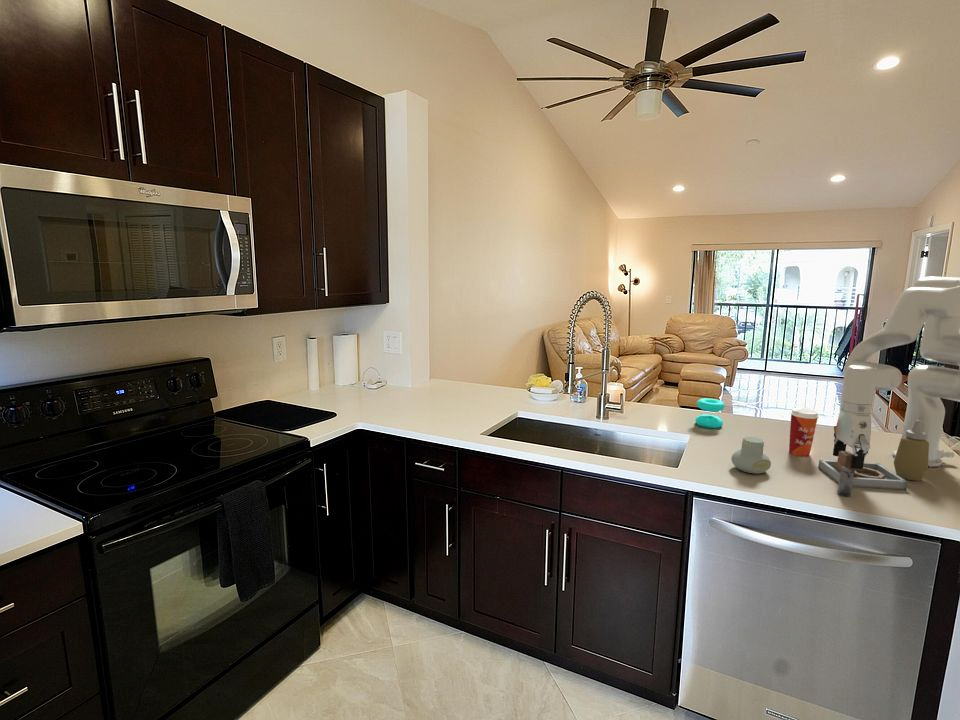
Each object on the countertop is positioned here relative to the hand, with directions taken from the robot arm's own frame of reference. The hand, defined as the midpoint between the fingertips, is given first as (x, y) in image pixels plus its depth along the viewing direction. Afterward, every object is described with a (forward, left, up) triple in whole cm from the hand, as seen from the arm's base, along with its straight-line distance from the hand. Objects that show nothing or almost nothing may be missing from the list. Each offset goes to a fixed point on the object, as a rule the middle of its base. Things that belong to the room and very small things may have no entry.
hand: (847, 462), depth 156 cm
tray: (-4, 0, -5) cm, 6 cm away
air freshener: (+27, -1, -5) cm, 27 cm away
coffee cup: (+5, -19, -5) cm, 20 cm away
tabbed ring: (-4, 0, -4) cm, 6 cm away
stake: (+7, +13, -5) cm, 15 cm away
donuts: (+27, -46, -5) cm, 53 cm away
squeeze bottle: (-19, -3, -5) cm, 20 cm away
